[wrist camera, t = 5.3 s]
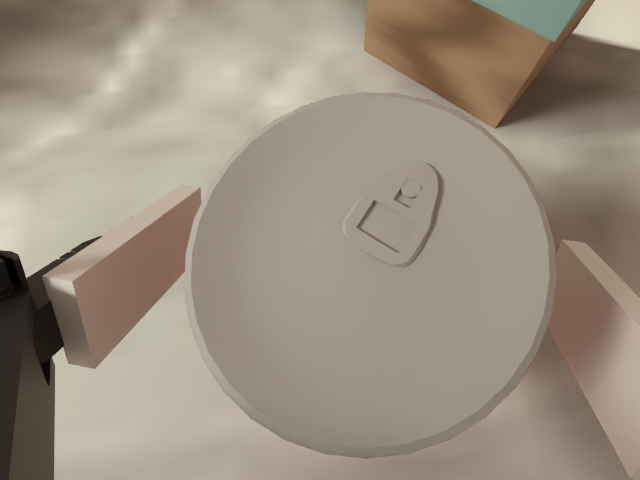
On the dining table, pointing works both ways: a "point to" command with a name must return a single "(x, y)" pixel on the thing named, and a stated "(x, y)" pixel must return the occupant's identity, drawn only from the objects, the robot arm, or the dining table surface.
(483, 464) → the dining table surface
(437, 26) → the walnut block
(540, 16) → the teal block
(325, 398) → the canned food
